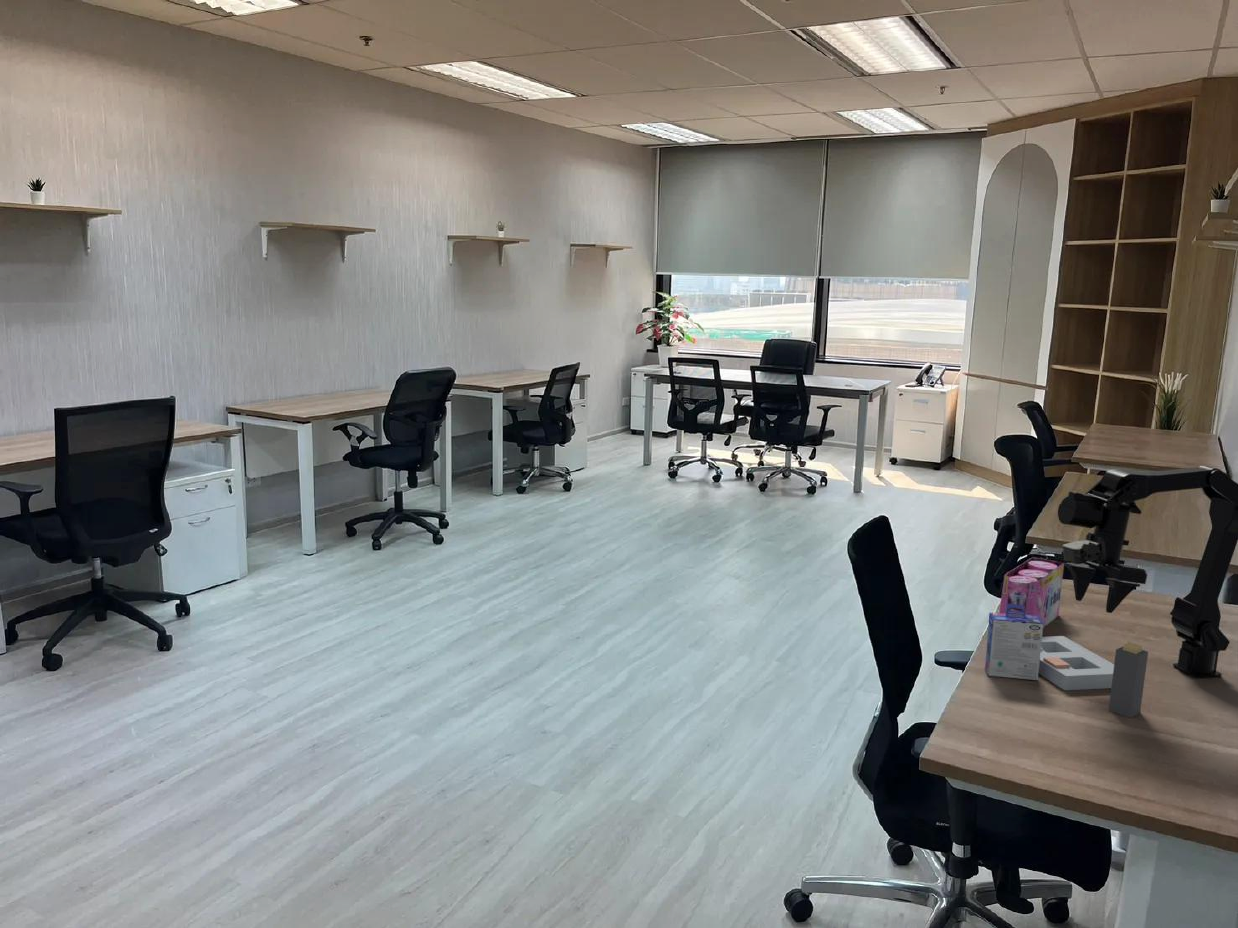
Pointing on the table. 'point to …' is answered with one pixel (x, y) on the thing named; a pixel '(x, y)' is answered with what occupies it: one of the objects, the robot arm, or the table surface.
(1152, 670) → the table surface
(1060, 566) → the gum box
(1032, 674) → the ink cartridge box
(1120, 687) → the plug
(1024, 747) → the table surface
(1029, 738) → the table surface
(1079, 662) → the socket panel
